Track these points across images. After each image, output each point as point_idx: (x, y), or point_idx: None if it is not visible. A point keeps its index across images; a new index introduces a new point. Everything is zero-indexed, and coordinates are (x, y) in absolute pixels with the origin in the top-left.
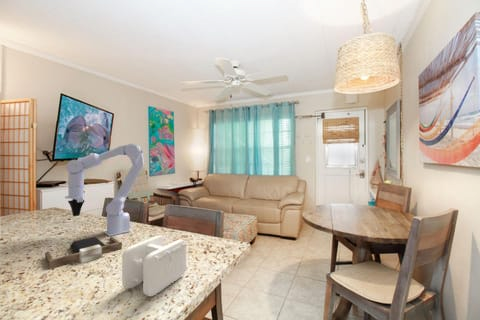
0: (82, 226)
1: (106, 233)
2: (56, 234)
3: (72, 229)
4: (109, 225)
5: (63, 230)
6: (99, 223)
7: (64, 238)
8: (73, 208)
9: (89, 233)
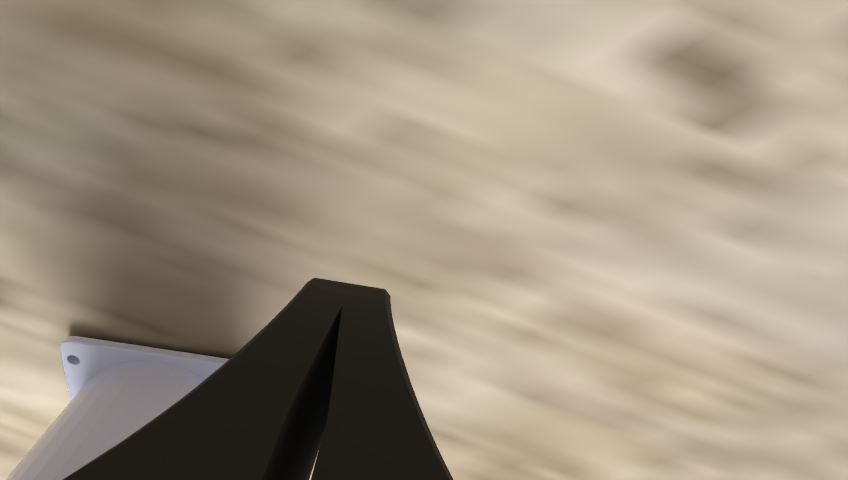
0: (716, 343)
1: (151, 353)
2: (714, 21)
3: (718, 236)
4: (56, 440)
5: (801, 156)
6: (636, 465)
7: (407, 16)
8: (142, 444)
9: (356, 275)
